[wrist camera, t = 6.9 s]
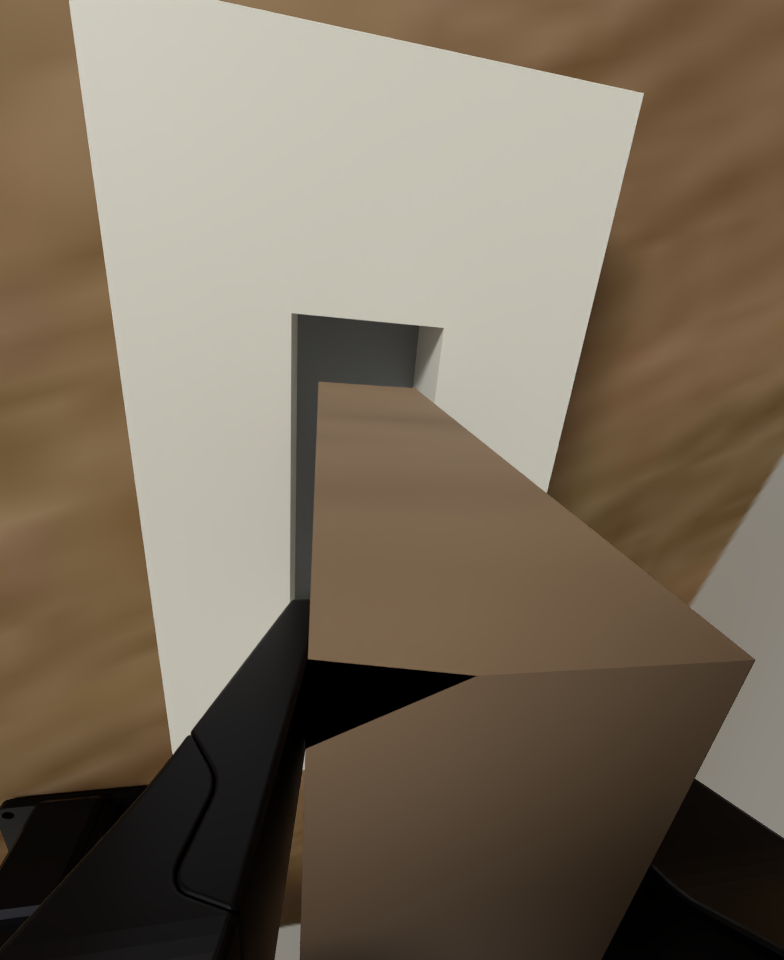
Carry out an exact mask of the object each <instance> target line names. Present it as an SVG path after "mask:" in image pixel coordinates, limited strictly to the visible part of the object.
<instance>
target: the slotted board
mask: <svg viewBox="0 0 784 960" xmlns="http://www.w3.org/2000/svg"><path fill="white" fill-rule="evenodd" d="M69 4H70V12H71V19H72V26H73V33H74V41H75V48H76V55H77V63H78V70H79V77H80V84H81V92H82V99H83V106H84V113H85V121H86V128H87V135H88V142H89V150H90V157H91V164H92V172H93V179H94V186H95V193H96V201H97V208H98V215H99V222H100V230H101V237H102V244H103V252H104V259H105V266H106V273H107V281H108V288H109V295H110V302H111V310H112V317H113V324H114V332H115V339H116V346H117V353H118V361H119V368H120V375H121V382H122V390H123V397H124V404H125V412H126V419H127V426H128V433H129V441H130V448H131V455H132V462H133V470H134V477H135V484H136V492H137V499H138V506H139V513H140V521H141V528H142V535H143V542H144V550H145V557H146V564H147V572H148V579H149V586H150V593H151V601H152V608H153V615H154V622H155V630H156V637H157V644H158V651H159V659H160V666H161V673H162V681H163V688H164V695H165V702H166V710H167V717H168V724H169V731H170V739H171V746H172V753H173V754H174V753H175V751H176V750H177V749H178V747H179V746H180V745H181V743H182V742H183V741H184V739H185V738H186V737H187V736H188V735H191V731H192V729H193V728H194V727H195V725H196V724H197V723H198V721H199V720H200V719H201V718H202V716H203V715H204V714H205V712H206V711H207V710H208V708H209V707H210V706H211V704H212V703H213V702H214V701H215V699H216V698H217V697H218V695H219V694H220V693H221V691H222V690H223V689H224V688H225V686H226V685H227V684H228V682H229V681H230V680H231V678H232V677H233V676H234V674H235V673H236V672H237V671H238V669H239V668H240V667H241V665H242V664H243V663H244V661H245V660H246V659H247V657H248V656H249V655H250V654H251V652H252V651H253V650H254V648H255V647H256V646H257V644H258V643H259V642H260V640H261V639H262V638H263V637H264V635H265V634H266V633H267V631H268V630H269V629H270V627H271V626H272V625H273V623H274V622H275V621H276V620H277V618H278V617H279V616H280V614H281V613H282V612H283V610H284V609H285V608H286V606H287V605H288V604H289V603H290V601H291V600H293V599H310V593H311V566H312V540H313V514H314V487H315V461H316V435H317V408H318V382H332V383H347V384H361V385H375V386H390V387H404V388H416V389H417V390H418V391H419V392H421V393H422V394H423V395H424V396H426V397H427V398H428V399H429V400H431V401H432V402H433V403H434V404H436V405H437V406H438V407H439V408H441V409H442V410H443V411H444V412H446V413H447V414H448V415H449V416H451V417H452V418H453V419H454V420H456V421H457V422H458V423H459V424H461V425H462V426H463V427H464V428H466V429H467V430H468V431H469V432H471V433H472V434H473V435H474V436H476V437H477V438H478V439H479V440H481V441H482V442H483V443H484V444H486V445H487V446H488V447H489V448H491V449H492V450H493V451H494V452H496V453H497V454H498V455H499V456H501V457H502V458H503V459H504V460H506V461H507V462H508V463H509V464H511V465H512V466H513V467H514V468H516V469H517V470H518V471H519V472H521V473H522V474H523V475H524V476H526V477H527V478H528V479H530V480H531V481H532V482H533V483H535V484H536V485H537V486H538V487H540V488H541V489H542V490H543V491H545V492H546V493H547V490H548V486H549V482H550V478H551V474H552V469H553V465H554V461H555V457H556V453H557V449H558V445H559V441H560V436H561V432H562V428H563V424H564V420H565V416H566V412H567V408H568V403H569V399H570V395H571V391H572V387H573V383H574V379H575V375H576V371H577V366H578V362H579V358H580V354H581V350H582V346H583V342H584V338H585V333H586V329H587V325H588V321H589V317H590V313H591V309H592V305H593V300H594V296H595V292H596V288H597V284H598V280H599V276H600V272H601V268H602V263H603V259H604V255H605V251H606V247H607V243H608V239H609V235H610V230H611V226H612V222H613V218H614V214H615V210H616V206H617V202H618V197H619V193H620V189H621V185H622V181H623V177H624V173H625V169H626V165H627V160H628V156H629V152H630V148H631V144H632V140H633V136H634V132H635V127H636V123H637V119H638V115H639V111H640V107H641V103H642V99H643V95H644V93H640V92H635V91H630V90H626V89H621V88H617V87H612V86H608V85H603V84H598V83H594V82H589V81H585V80H580V79H575V78H571V77H566V76H562V75H557V74H553V73H548V72H543V71H539V70H534V69H530V68H525V67H521V66H516V65H511V64H507V63H502V62H498V61H493V60H488V59H484V58H479V57H475V56H470V55H466V54H461V53H456V52H452V51H447V50H443V49H438V48H434V47H429V46H424V45H420V44H415V43H411V42H406V41H401V40H397V39H392V38H388V37H383V36H379V35H374V34H369V33H365V32H360V31H356V30H351V29H347V28H342V27H337V26H333V25H328V24H324V23H319V22H314V21H310V20H305V19H301V18H296V17H292V16H287V15H282V14H278V13H273V12H269V11H264V10H260V9H255V8H250V7H246V6H241V5H237V4H232V3H227V2H223V1H218V0H69ZM302 770H305V756H304V762H303V769H302Z"/></svg>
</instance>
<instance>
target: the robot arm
mask: <svg viewBox="0 0 784 960" xmlns="http://www.w3.org/2000/svg"><path fill="white" fill-rule="evenodd" d="M309 619H310V599H293V600H291V601H290V603H289V604H288V605H287V606H286V608H285V609H284V610H283V612H282V613H281V614H280V616H279V617H278V618H277V620H276V621H275V622H274V623H273V625H272V626H271V627H270V629H269V630H268V631H267V633H266V634H265V635H264V637H263V638H262V639H261V640H260V642H259V643H258V644H257V646H256V647H255V648H254V650H253V651H252V652H251V654H250V655H249V656H248V657H247V659H246V660H245V661H244V663H243V664H242V665H241V667H240V668H239V669H238V671H237V672H236V673H235V674H234V676H233V677H232V678H231V680H230V681H229V682H228V684H227V685H226V686H225V688H224V689H223V690H222V691H221V693H220V694H219V695H218V697H217V698H216V699H215V701H214V702H213V703H212V704H211V706H210V707H209V708H208V710H207V711H206V712H205V714H204V715H203V716H202V718H201V719H200V720H199V721H198V723H197V724H196V725H195V727H194V728H193V729H192V731H191V735H188V736H187V737H186V738H185V739H184V741H183V742H182V743H181V745H180V746H179V747H178V749H177V750H176V751H175V753H174V754H173V755H172V757H171V758H170V759H169V760H168V762H167V763H166V764H165V765H164V766H163V768H162V769H161V770H160V771H159V773H158V774H157V775H156V776H155V778H154V779H153V780H152V781H151V783H150V784H149V785H148V786H147V788H145V787H137V788H127V789H116V790H105V791H94V792H83V793H73V794H62V795H51V796H40V797H29V798H18V799H10V800H6V801H4V802H3V803H2V805H1V806H0V830H1V832H2V835H3V838H4V840H5V843H6V845H7V848H8V851H9V852H8V854H7V855H6V857H5V859H4V860H3V862H2V864H1V866H0V960H274V958H275V951H276V944H277V938H278V931H279V925H280V918H281V911H282V904H283V898H284V891H285V884H286V877H287V871H288V864H289V857H290V850H291V843H292V837H293V830H294V823H295V816H296V810H297V803H298V796H299V789H300V783H301V776H302V769H303V762H304V756H305V744H306V709H307V675H308V645H309ZM311 662H312V659H310V678H309V714H308V727H309V718H310V695H311ZM432 672H433V671H432ZM433 677H434V682H435V688H436V693H438V692H441V691H443V690H445V689H448V688H449V687H450V682H451V677H452V673H444V672H433ZM601 960H784V838H783V837H781V836H780V835H778V834H777V833H775V832H774V831H772V830H771V829H769V828H768V827H766V826H765V825H763V824H762V823H760V822H759V821H757V820H756V819H754V818H753V817H751V816H750V815H748V814H747V813H745V812H744V811H742V810H741V809H739V808H738V807H736V806H735V805H733V804H732V803H730V802H729V801H727V800H726V799H724V798H723V797H721V796H720V795H718V794H717V793H716V792H714V791H712V790H711V789H710V788H708V787H707V786H705V785H704V784H702V783H700V782H699V781H698V780H696V779H695V778H694V780H693V782H692V784H691V786H690V788H689V790H688V792H687V794H686V796H685V798H684V800H683V802H682V804H681V806H680V808H679V810H678V812H677V813H676V815H675V817H674V819H673V821H672V823H671V825H670V827H669V829H668V831H667V833H666V835H665V837H664V839H663V841H662V843H661V845H660V847H659V848H658V850H657V852H656V854H655V856H654V858H653V860H652V862H651V864H650V866H649V868H648V870H647V872H646V874H645V876H644V878H643V880H642V882H641V884H640V885H639V887H638V889H637V891H636V893H635V895H634V897H633V899H632V901H631V903H630V905H629V907H628V909H627V911H626V913H625V915H624V917H623V919H622V920H621V922H620V924H619V926H618V928H617V930H616V932H615V934H614V936H613V938H612V940H611V942H610V944H609V946H608V948H607V950H606V952H605V954H604V955H603V957H602V959H601Z"/></svg>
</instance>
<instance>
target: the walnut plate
mask: <svg viewBox="0 0 784 960" xmlns="http://www.w3.org/2000/svg"><path fill="white" fill-rule="evenodd" d="M310 659H312V662H311V695H310V718H309V727H308V714H309V678H310ZM754 662H755V659H754V658H752V657H751V656H750V655H749V654H747V653H746V652H745V651H744V650H742V649H741V648H740V647H739V646H737V645H736V644H735V643H734V642H732V641H731V640H730V639H729V638H727V637H726V636H725V635H724V634H722V633H721V632H720V631H719V630H717V629H716V628H715V627H714V626H712V625H711V624H710V623H709V622H707V621H706V620H705V619H703V618H702V617H701V616H700V615H699V614H697V613H696V612H695V611H694V610H692V609H691V608H690V607H689V606H687V605H686V604H685V603H684V602H682V601H681V600H680V599H679V598H677V597H676V596H675V595H674V594H672V593H671V592H670V591H669V590H667V589H666V588H665V587H664V586H662V585H661V584H660V583H659V582H657V581H656V580H655V579H654V578H652V577H651V576H650V575H649V574H647V573H646V572H645V571H644V570H642V569H641V568H640V567H638V566H637V565H636V564H635V563H633V562H632V561H631V560H630V559H628V558H627V557H626V556H625V555H623V554H622V553H621V552H620V551H618V550H617V549H616V548H615V547H613V546H612V545H611V544H610V543H608V542H607V541H606V540H605V539H603V538H602V537H601V536H600V535H598V534H597V533H596V532H595V531H593V530H592V529H591V528H590V527H588V526H587V525H586V524H585V523H583V522H582V521H581V520H580V519H578V518H577V517H576V516H575V515H573V514H572V513H571V512H570V511H568V510H567V509H566V508H565V507H563V506H562V505H561V504H560V503H558V502H557V501H556V500H555V499H553V498H552V497H551V496H550V495H548V494H547V493H546V492H545V491H543V490H542V489H541V488H540V487H538V486H537V485H536V484H535V483H533V482H532V481H531V480H530V479H528V478H527V477H526V476H524V475H523V474H522V473H521V472H519V471H518V470H517V469H516V468H514V467H513V466H512V465H511V464H509V463H508V462H507V461H506V460H504V459H503V458H502V457H501V456H499V455H498V454H497V453H496V452H494V451H493V450H492V449H491V448H489V447H488V446H487V445H486V444H484V443H483V442H482V441H481V440H479V439H478V438H477V437H476V436H474V435H473V434H472V433H471V432H469V431H468V430H467V429H466V428H464V427H463V426H462V425H461V424H459V423H458V422H457V421H456V420H454V419H453V418H452V417H451V416H449V415H448V414H447V413H446V412H444V411H443V410H442V409H441V408H439V407H438V406H437V405H436V404H434V403H433V402H432V401H431V400H429V399H428V398H427V397H426V396H424V395H423V394H422V393H421V392H419V391H418V390H417V389H416V388H404V387H390V386H375V385H361V384H347V383H332V382H318V408H317V435H316V461H315V487H314V514H313V540H312V566H311V593H310V619H309V645H308V675H307V709H306V744H305V781H304V820H303V859H302V898H301V936H300V937H301V939H300V940H301V941H300V960H601V959H602V957H603V955H604V954H605V952H606V950H607V948H608V946H609V944H610V942H611V940H612V938H613V936H614V934H615V932H616V930H617V928H618V926H619V924H620V922H621V920H622V919H623V917H624V915H625V913H626V911H627V909H628V907H629V905H630V903H631V901H632V899H633V897H634V895H635V893H636V891H637V889H638V887H639V885H640V884H641V882H642V880H643V878H644V876H645V874H646V872H647V870H648V868H649V866H650V864H651V862H652V860H653V858H654V856H655V854H656V852H657V850H658V848H659V847H660V845H661V843H662V841H663V839H664V837H665V835H666V833H667V831H668V829H669V827H670V825H671V823H672V821H673V819H674V817H675V815H676V813H677V812H678V810H679V808H680V806H681V804H682V802H683V800H684V798H685V796H686V794H687V792H688V790H689V788H690V786H691V784H692V782H693V780H694V778H695V777H696V775H697V773H698V771H699V769H700V767H701V765H702V763H703V761H704V759H705V757H706V755H707V753H708V751H709V749H710V747H711V745H712V743H713V741H714V740H715V738H716V735H717V734H718V732H719V730H720V728H721V726H722V724H723V722H724V720H725V718H726V716H727V714H728V712H729V710H730V708H731V707H732V704H733V703H734V701H735V699H736V697H737V695H738V693H739V691H740V689H741V687H742V685H743V683H744V681H745V679H746V677H747V675H748V673H749V671H750V669H751V668H752V666H753V664H754ZM432 671H433V672H444V673H452V677H451V682H450V687H449V688H448V689H445V690H443V691H441V692H438V693H436V688H435V682H434V677H433V672H432Z"/></svg>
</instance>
